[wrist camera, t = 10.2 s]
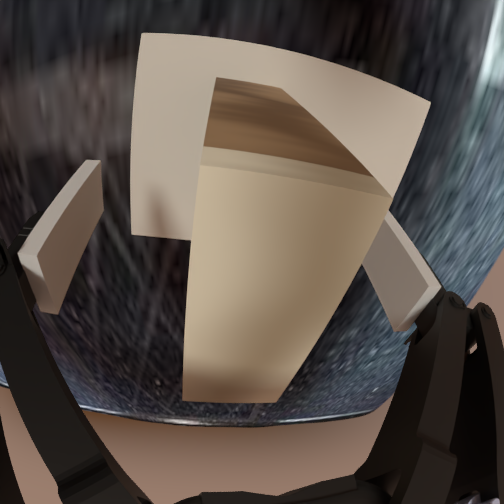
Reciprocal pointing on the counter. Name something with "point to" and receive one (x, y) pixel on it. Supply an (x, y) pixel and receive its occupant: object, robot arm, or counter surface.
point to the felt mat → (256, 71)
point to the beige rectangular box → (269, 242)
